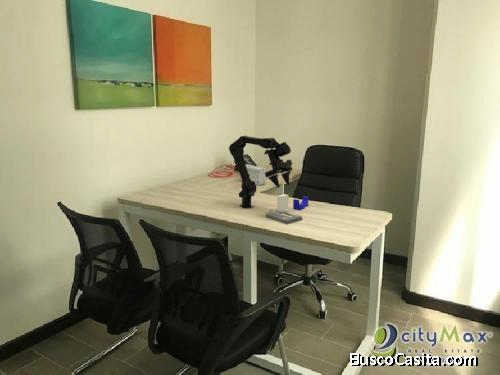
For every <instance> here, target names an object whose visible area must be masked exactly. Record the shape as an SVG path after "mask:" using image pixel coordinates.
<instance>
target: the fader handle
mask: <svg viewBox="0 0 500 375" xmlns="http://www.w3.org/2000/svg"><path fill="white" fill-rule="evenodd" d="M289 196H290V195H289V194H285V193H283V194H280V195H277V197H276V198H277V201H276V204H277V206H276V209H277V211H280V213H282V214H285V211H286V212H287V211H289V199H290V197H289Z"/></svg>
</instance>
